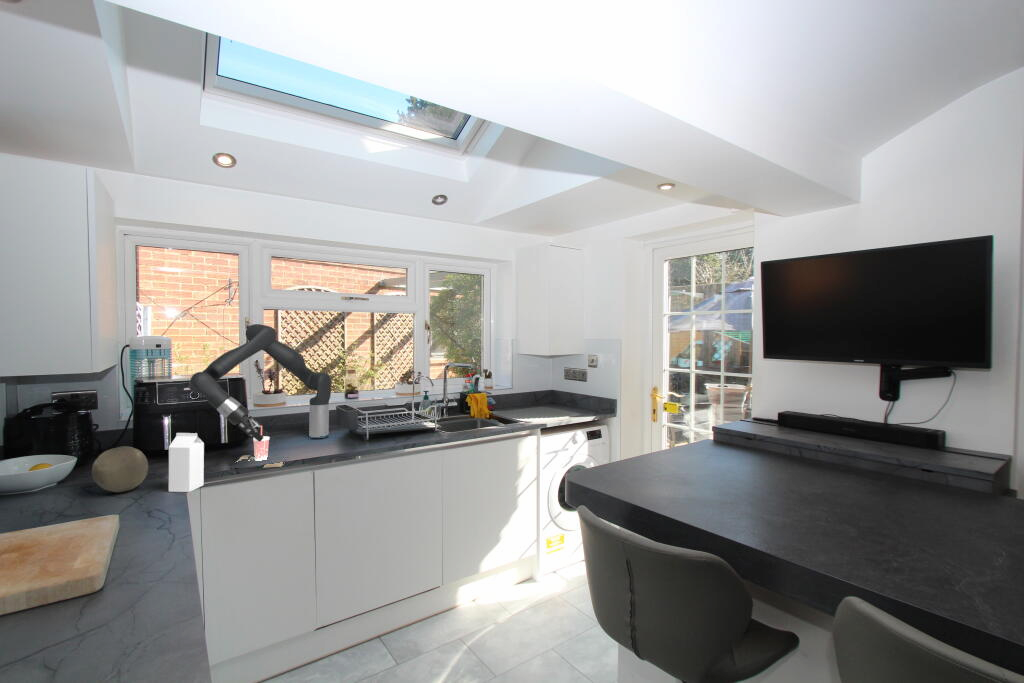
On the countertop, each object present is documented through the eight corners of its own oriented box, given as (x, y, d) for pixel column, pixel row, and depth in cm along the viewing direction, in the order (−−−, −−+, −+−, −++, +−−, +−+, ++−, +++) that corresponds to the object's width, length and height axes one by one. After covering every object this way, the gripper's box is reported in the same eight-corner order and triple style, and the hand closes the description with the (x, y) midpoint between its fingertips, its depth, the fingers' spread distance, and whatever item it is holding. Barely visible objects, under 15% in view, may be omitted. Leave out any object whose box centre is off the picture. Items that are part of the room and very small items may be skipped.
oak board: (242, 457, 202) (242, 455, 202) (288, 455, 207) (288, 452, 207) (230, 469, 184) (230, 466, 184) (281, 466, 190) (281, 463, 190)
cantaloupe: (104, 488, 161) (104, 443, 160) (154, 484, 166) (154, 441, 165) (83, 502, 147) (83, 453, 147) (138, 497, 152) (139, 450, 152)
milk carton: (189, 492, 157) (189, 435, 157) (168, 492, 158) (168, 435, 157) (203, 485, 164) (204, 431, 164) (183, 485, 165) (183, 430, 164)
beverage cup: (265, 456, 200) (265, 423, 200) (272, 459, 196) (272, 425, 196) (250, 459, 195) (250, 425, 195) (256, 462, 191) (257, 427, 191)
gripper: (235, 406, 186) (267, 434, 190) (244, 401, 200) (274, 427, 203) (220, 420, 185) (252, 448, 188) (230, 414, 198) (260, 440, 202)
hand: (264, 437), depth 196 cm, fingers open, 8 cm apart
